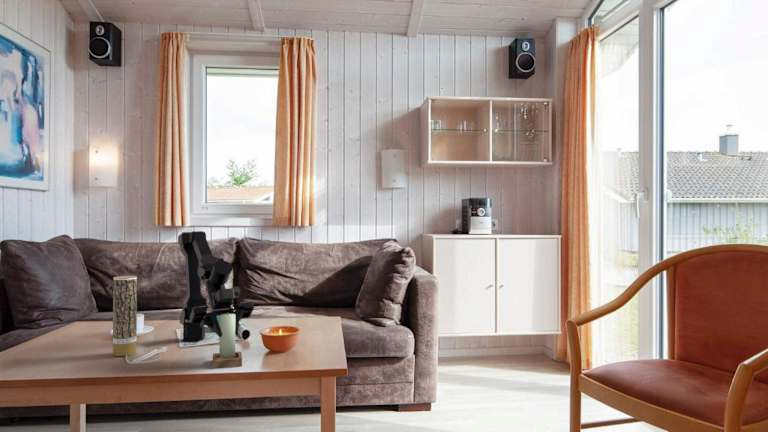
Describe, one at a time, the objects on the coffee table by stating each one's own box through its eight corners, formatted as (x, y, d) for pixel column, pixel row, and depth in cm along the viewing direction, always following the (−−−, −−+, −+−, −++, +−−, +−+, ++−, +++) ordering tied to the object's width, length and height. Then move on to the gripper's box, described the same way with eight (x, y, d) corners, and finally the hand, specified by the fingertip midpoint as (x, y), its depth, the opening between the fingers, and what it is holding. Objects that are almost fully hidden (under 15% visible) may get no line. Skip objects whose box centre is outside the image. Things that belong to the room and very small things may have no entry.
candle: (218, 358, 149) (219, 314, 149) (220, 354, 154) (220, 311, 154) (234, 357, 150) (235, 313, 150) (235, 353, 155) (235, 310, 155)
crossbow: (149, 369, 149) (149, 362, 149) (113, 366, 152) (113, 359, 152) (182, 351, 165) (182, 345, 165) (149, 349, 168) (149, 343, 168)
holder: (212, 368, 146) (212, 360, 146) (213, 360, 154) (213, 353, 155) (241, 366, 149) (242, 358, 149) (241, 358, 157) (241, 351, 157)
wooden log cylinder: (141, 352, 163) (141, 276, 163) (124, 358, 157) (124, 278, 157) (125, 350, 165) (125, 275, 165) (107, 356, 159) (108, 277, 159)
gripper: (192, 280, 149) (203, 323, 141) (252, 276, 161) (265, 316, 152) (185, 302, 156) (195, 345, 147) (243, 297, 167) (255, 336, 158)
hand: (228, 335), depth 151 cm, fingers closed on candle, 5 cm apart
